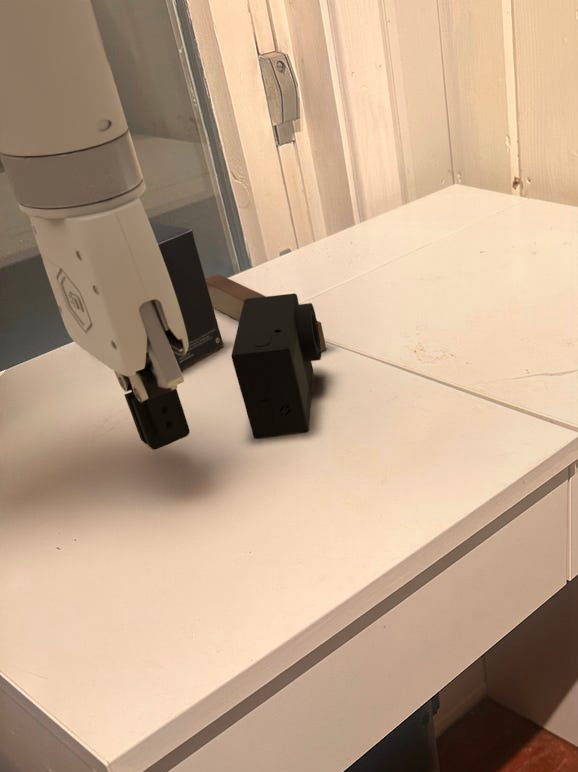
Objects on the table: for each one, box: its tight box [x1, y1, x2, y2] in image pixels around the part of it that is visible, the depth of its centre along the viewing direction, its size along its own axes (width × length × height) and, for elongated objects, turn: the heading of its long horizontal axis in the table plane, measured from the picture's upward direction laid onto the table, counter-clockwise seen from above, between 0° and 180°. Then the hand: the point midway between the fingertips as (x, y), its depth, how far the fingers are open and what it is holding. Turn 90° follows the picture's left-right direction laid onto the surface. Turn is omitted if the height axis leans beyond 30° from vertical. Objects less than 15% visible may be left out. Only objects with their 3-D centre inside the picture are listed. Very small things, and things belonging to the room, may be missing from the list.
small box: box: [149, 221, 224, 370], centre depth 81 cm, size 11×6×10 cm, turn 56°
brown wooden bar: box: [205, 273, 327, 352], centre depth 85 cm, size 18×2×2 cm, turn 42°
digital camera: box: [230, 293, 322, 439], centre depth 72 cm, size 10×5×7 cm, turn 5°
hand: (166, 438), depth 67 cm, fingers closed
